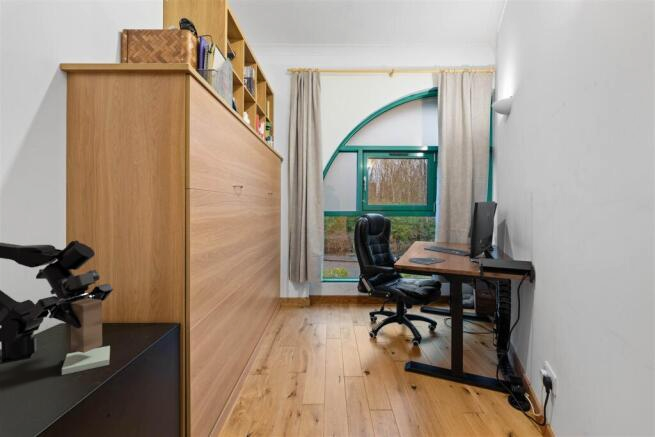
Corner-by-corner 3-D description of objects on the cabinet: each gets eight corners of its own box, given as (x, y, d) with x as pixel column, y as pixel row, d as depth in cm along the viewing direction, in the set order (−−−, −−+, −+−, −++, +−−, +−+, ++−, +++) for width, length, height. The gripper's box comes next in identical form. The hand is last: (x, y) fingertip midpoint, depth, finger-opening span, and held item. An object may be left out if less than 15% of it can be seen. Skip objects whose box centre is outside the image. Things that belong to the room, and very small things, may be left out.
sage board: (61, 375, 82) (61, 369, 82) (67, 359, 90) (67, 353, 90) (108, 364, 87) (108, 359, 87) (109, 350, 95) (109, 345, 95)
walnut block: (71, 349, 87) (70, 303, 86) (89, 342, 92) (89, 298, 91) (83, 352, 85) (83, 305, 85) (102, 345, 90) (101, 300, 89)
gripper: (36, 268, 80) (67, 317, 77) (108, 257, 97) (135, 297, 94) (17, 296, 83) (45, 344, 80) (90, 280, 100) (116, 319, 97)
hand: (90, 323), depth 88 cm, fingers closed on walnut block, 5 cm apart
